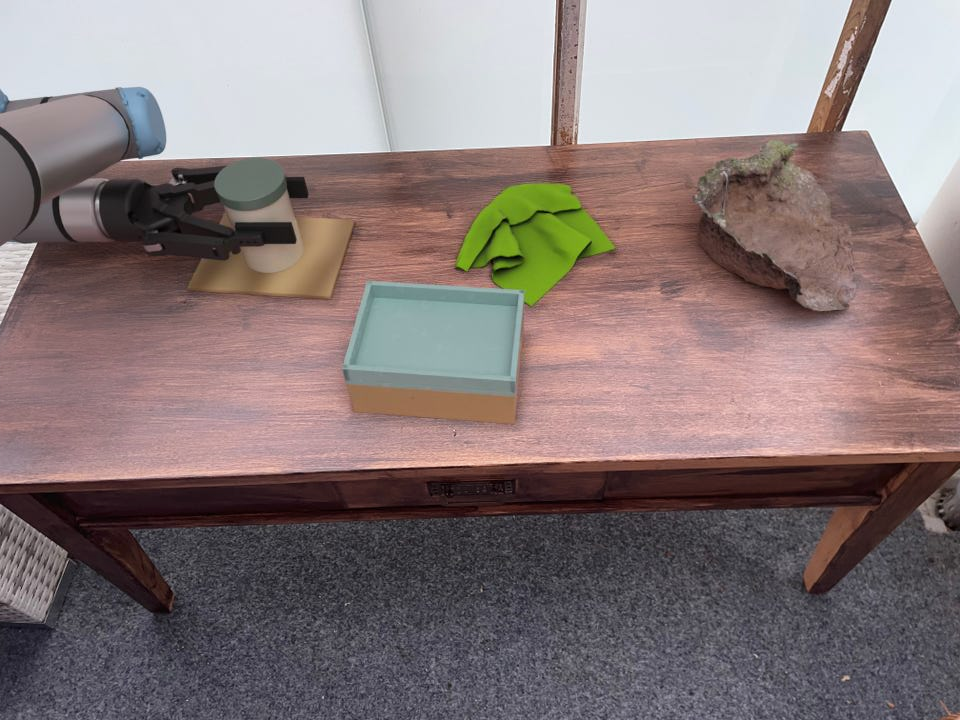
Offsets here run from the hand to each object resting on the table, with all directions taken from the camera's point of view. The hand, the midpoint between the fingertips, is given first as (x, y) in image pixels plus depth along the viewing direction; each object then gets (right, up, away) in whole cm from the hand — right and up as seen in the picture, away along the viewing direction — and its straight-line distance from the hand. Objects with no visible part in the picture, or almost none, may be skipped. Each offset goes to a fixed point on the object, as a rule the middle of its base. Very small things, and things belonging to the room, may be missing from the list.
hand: (299, 209), depth 87 cm
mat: (-5, -5, +6) cm, 9 cm away
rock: (+58, -5, +4) cm, 58 cm away
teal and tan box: (+17, -19, -6) cm, 27 cm away
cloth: (+28, -3, +7) cm, 29 cm away
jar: (-5, -4, +6) cm, 8 cm away
